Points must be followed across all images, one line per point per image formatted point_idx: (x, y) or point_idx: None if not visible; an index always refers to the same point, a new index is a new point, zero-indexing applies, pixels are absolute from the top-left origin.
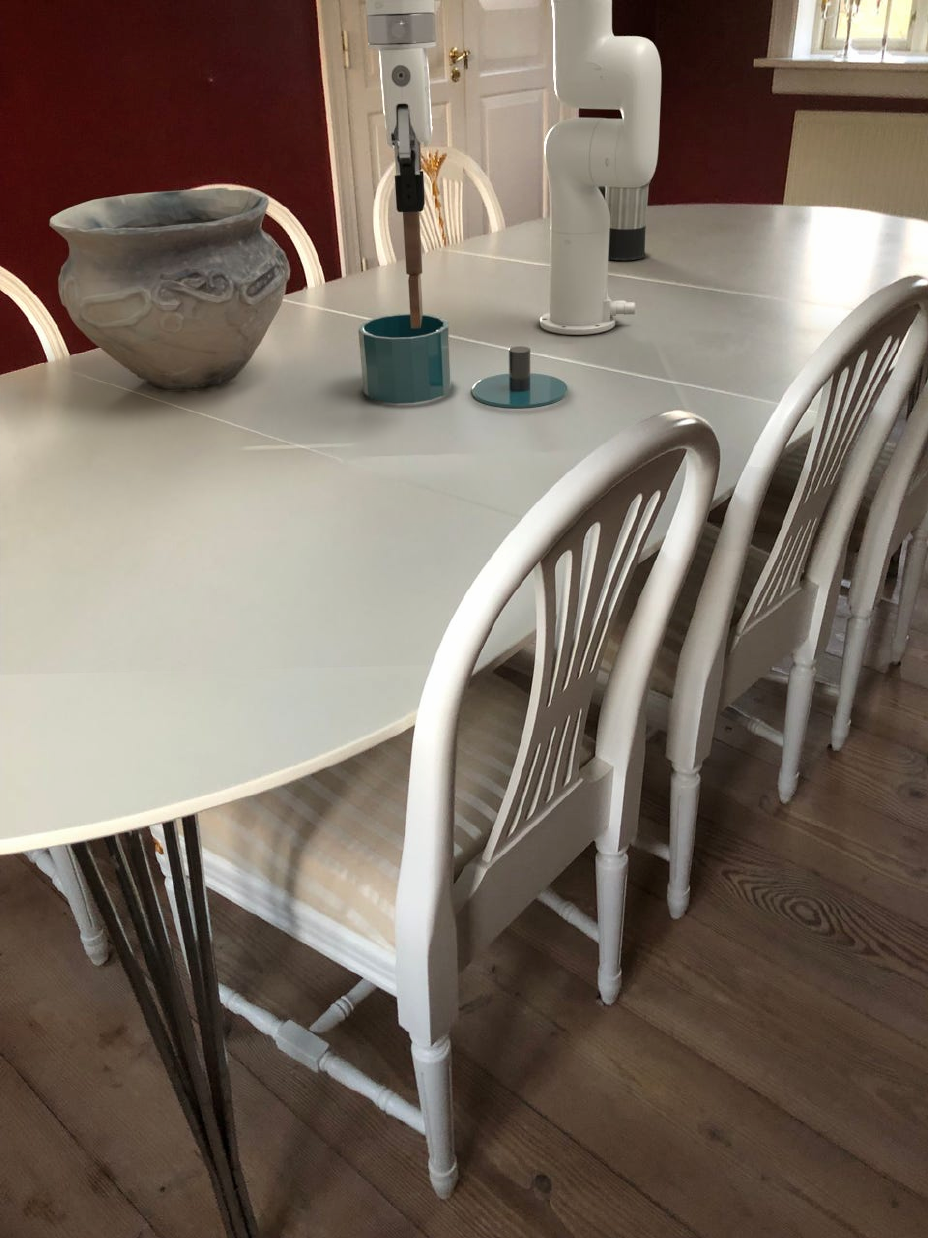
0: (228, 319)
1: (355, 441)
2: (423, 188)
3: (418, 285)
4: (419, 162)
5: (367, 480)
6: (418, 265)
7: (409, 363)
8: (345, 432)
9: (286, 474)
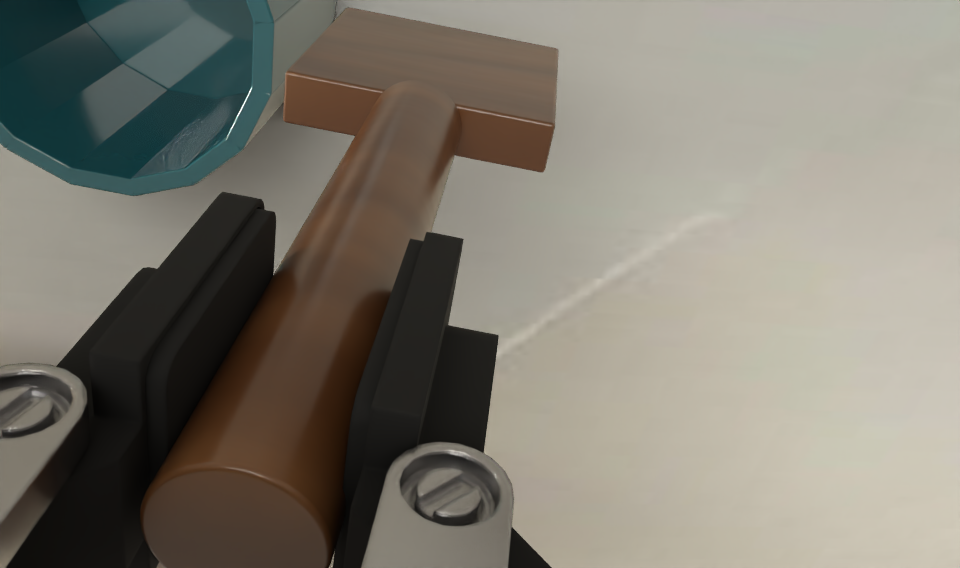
0: (162, 566)
1: (586, 169)
2: (214, 269)
3: (544, 108)
4: (66, 453)
5: (870, 168)
6: (452, 122)
7: (302, 7)
8: (511, 188)
9: (744, 337)
